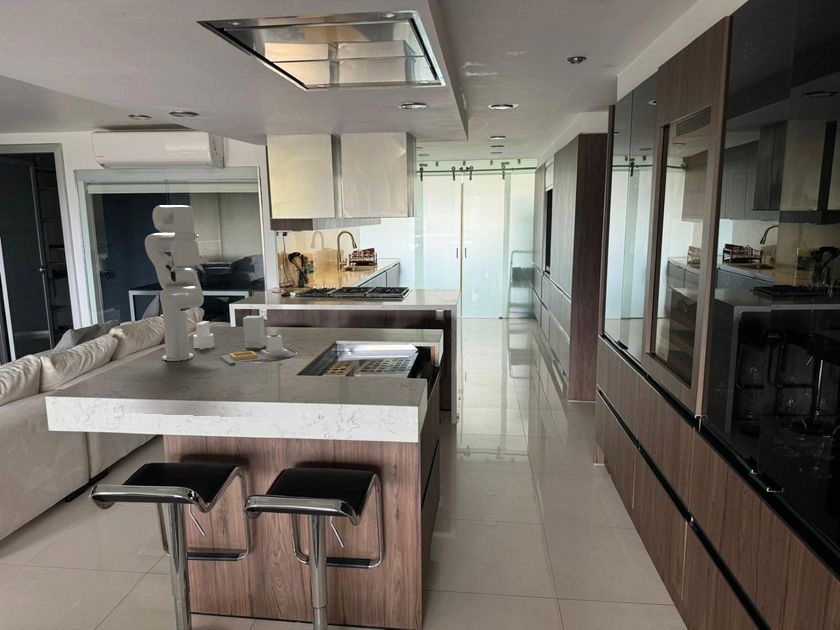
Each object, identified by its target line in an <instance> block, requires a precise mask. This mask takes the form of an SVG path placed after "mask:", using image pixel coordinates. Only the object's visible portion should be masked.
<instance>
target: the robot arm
mask: <svg viewBox="0 0 840 630" xmlns="http://www.w3.org/2000/svg"><path fill="white" fill-rule="evenodd" d="M194 219H195V217H194V208H193V207H192V206H190V205H167V204H166V205H163V204H162V205H157V206H155V208H153V211H152V221H153V224H154V228H155V230H157V231H159V232H157V233H151V234H149V235H147V236H146V237H145V239H144V246H145V251H146V254H147V256H148V258H149V260H150V261H151V262H152V264H153V265H154V268H155V272H156V274H157V279H158V282H159V285H160V286H161V288H162V290H161V291H160V293H159V299H160V305H161V310H162V314H163V315H162V316H163V326H164V327H163V329H164V343H165V345H164V346H165V354H164V355H163V356H161V357H162V360H163V361H165V360H167V361H166V362H181V360H182V361H187V359H188V360H191V359H193V358H194V354H193V353H191V352H190V339H189V323H188V317H187V315H186V313H184V312H183V311H182V309H192V308H199V307H201V306H202V305H203V303H204V300H205V298H204V293H203V290H202V287H201V283H200V281H201V282H202V279H203V277H204V276H203V271H204V269H205V268H206V267H207V265H208V263H209V261H210V259H208V258H207V257H204V256H202V255H200V251H199V246H198V242H197V240H196V239H198V238H199V234H196V233H195V220H194ZM167 253H170V255H168V254H167ZM201 261H203V263H202V264H201ZM180 267H181V268H180ZM190 267H196V268H197V269H198V270H197V272H196V271H195V270H194V269H193V268H190Z"/></svg>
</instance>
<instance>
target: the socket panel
mask: <svg viewBox="0 0 840 630" xmlns="http://www.w3.org/2000/svg"><path fill="white" fill-rule="evenodd" d="M293 356H298V353H295V352H293V351H291V350H289V349H287V348H284V347H282V351H277V352H267V349H260V351H252V350H248V351H239V352H232V353H231V352H229V354H226V355H225V354H224V355H220V357H219V358H220V359H221V361H223V360H224V363H226V364H227V363H228V364H229V366H234V365H235V364H237V363H242V362H243V363H244V362H250V361H259V360H266V359H267V360H268V359H275V358H276V359H277V358H285V357H293ZM228 364H227V365H228Z"/></svg>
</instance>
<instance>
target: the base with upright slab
mask: <svg viewBox="0 0 840 630" xmlns="http://www.w3.org/2000/svg"><path fill="white" fill-rule="evenodd" d="M195 327H196V329H195V331H196V334H193V348H194V349H195V348H200V349H199V350H206V348H209V349H212V347H213V348H215V347H214V345H215V344H214V343H215V341H214V334H213V333H210V332H211V331H210V329H211V328H210V321H209V320H208V321H207V320H206V321H205V320H203V321H200V322H198V323H196V324H195ZM204 348H205V349H204Z"/></svg>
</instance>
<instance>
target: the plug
mask: <svg viewBox="0 0 840 630" xmlns="http://www.w3.org/2000/svg"><path fill="white" fill-rule="evenodd" d="M265 344H266V346H265V347H266V349H267V352H277V351H282V348H283V336H282V335H280V334H278V333H270V334H269V335H265Z"/></svg>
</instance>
